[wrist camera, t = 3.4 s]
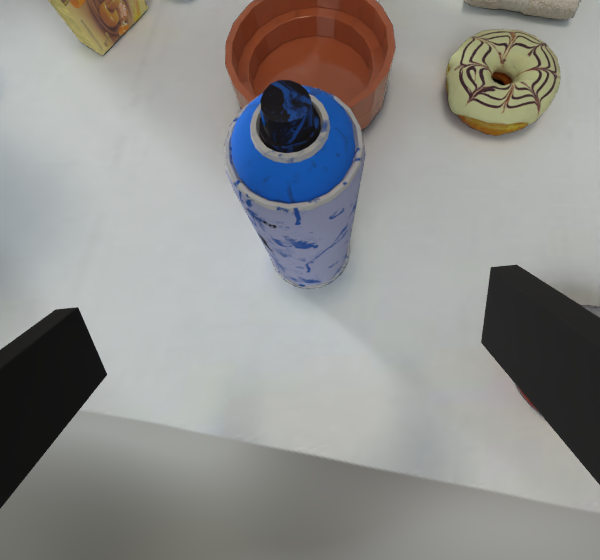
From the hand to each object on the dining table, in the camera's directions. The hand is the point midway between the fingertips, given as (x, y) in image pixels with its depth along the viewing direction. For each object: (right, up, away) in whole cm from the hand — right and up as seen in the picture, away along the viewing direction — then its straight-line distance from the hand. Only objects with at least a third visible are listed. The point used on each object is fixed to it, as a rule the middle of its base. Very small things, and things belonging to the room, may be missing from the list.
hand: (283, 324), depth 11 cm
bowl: (+2, +23, +27) cm, 35 cm away
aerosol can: (+1, +4, +23) cm, 23 cm away
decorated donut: (+21, +21, +25) cm, 39 cm away
